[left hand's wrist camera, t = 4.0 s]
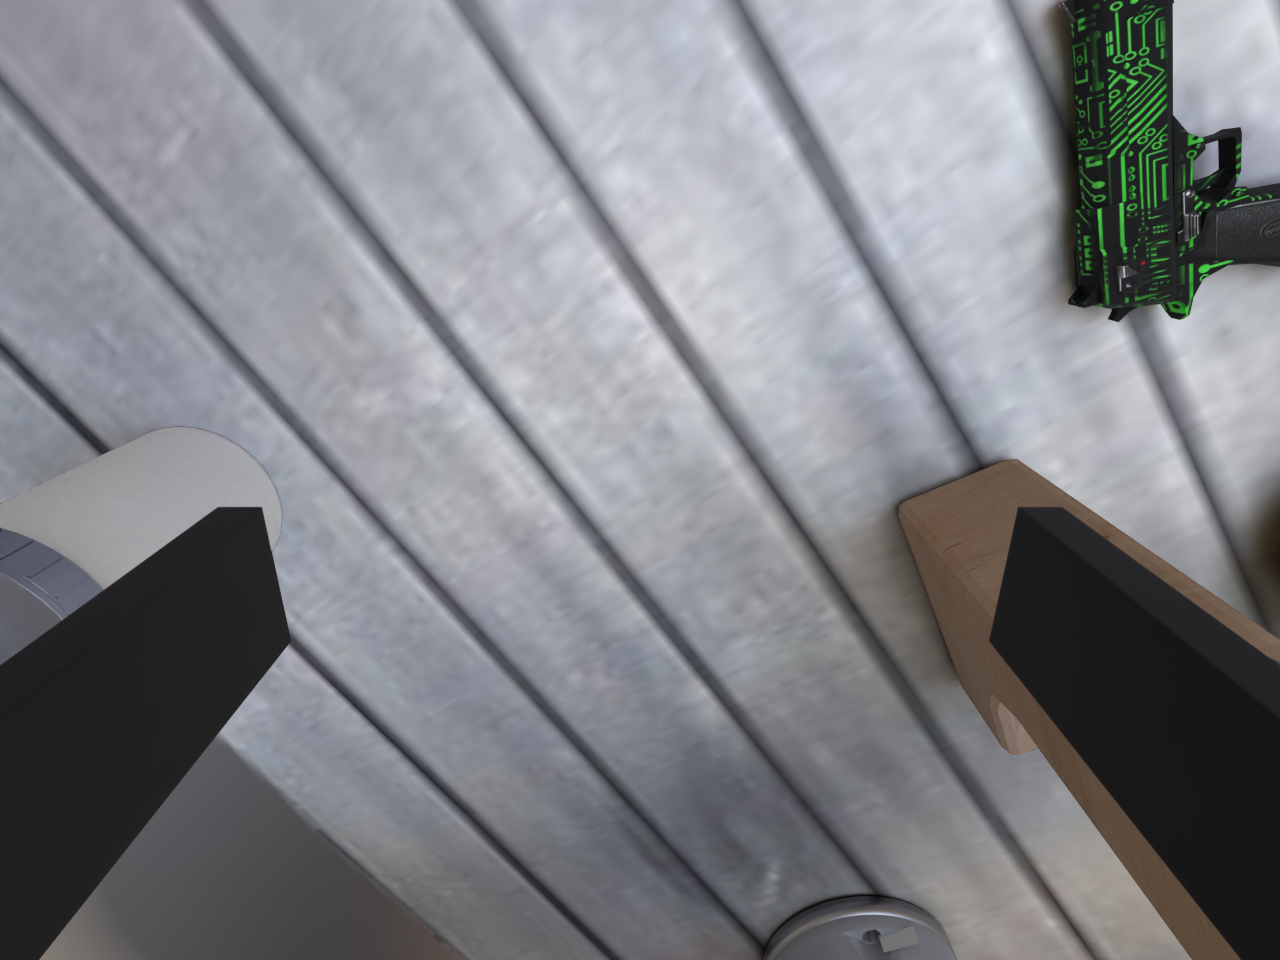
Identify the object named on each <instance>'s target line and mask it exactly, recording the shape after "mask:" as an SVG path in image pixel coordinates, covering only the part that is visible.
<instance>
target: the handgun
mask: <svg viewBox="0 0 1280 960" xmlns="http://www.w3.org/2000/svg"><path fill="white" fill-rule="evenodd" d="M1173 3H1174V0H1068V1H1066V2H1064V3H1062V4H1060V5H1059V7H1060V8H1061V9H1062V11H1063V12H1064V13H1065V15H1066V16H1067V18H1068V19H1069V20H1070V30H1071V43H1072V54H1073V73H1074V92H1075V112H1076V131H1077V149H1078V164H1079V179H1080V194H1081V207H1078V208H1075V209H1073V211H1074V224H1075V237H1076V248H1075V250H1074V259H1075V273H1076V288H1077V289H1076V290H1075V292H1074V293H1073V294H1072V296H1071V297H1070V298H1069V300H1068V304H1070V305H1075V306H1076V305H1077V306H1078V307H1083V308H1085V307H1089V306H1092V305H1095V306H1100V307H1104V308H1109V309H1111V308H1112V312H1111V314H1110V316H1109V318H1108V319H1109V320H1113V321H1117V322H1119V321H1120V320H1121V319H1122V318H1123V317H1124V316H1125V315H1126V314H1127V313H1128V312H1130V311H1131V310H1133V309H1135V308H1136V307H1138V306H1145V305H1155V304H1161V305H1162V307H1163V308H1164V310H1165V311H1166V312H1167V313H1168V315H1169V316H1170V317H1171V318H1175V319H1179V320H1180V319H1184V318H1185V317H1187V316H1188V315H1190V310H1191V306H1192V301H1193V297H1194V295H1195V293H1196V291H1197V290H1198V288H1199V286H1200V284H1201V282H1202V280H1203V279H1204V278H1206V277H1207V276H1209V275H1211V274H1213V273H1215V272H1216V271H1218V270H1220V269H1222V268H1224V267H1226V266H1227V265H1237V264H1262V265H1270V266H1278V267H1280V183H1279V184H1273V185H1268V186H1262V187H1257V188H1250V189H1247V187H1234V186H1235V184H1236V181H1237V179H1238V177H1239V174H1240V172H1241V144H1242V132H1241V128H1240V127H1238V128H1230V129H1223V130H1220V131H1219V132H1217V133H1215V134H1212V135H1209V136H1206V137H1202V138H1200V137H1197V136H1195V135H1192V134H1189V133H1188V132H1187V131H1186V130H1185V129H1184V128H1183V126H1182V125H1181V124H1180V123H1179V122H1178V120H1177V119H1176V118H1175V117H1174V116H1173ZM1217 140H1218V151H1219V170H1217V171H1216V172H1214V173H1213V174H1212V175H1210V176H1207V177H1204V178H1201V179H1199V180H1196V181H1193V161H1194V160H1195V159H1196V158H1197V157H1198V156H1199V155H1200V154H1201V153H1202V152H1203V151H1204V150H1205V144H1207V143H1210V142H1213V141H1217ZM1210 185H1211V186H1210ZM1208 186H1210V188H1206V187H1208ZM1204 188H1206V189H1204ZM1196 191H1197V192H1196ZM1195 192H1196V193H1195Z"/></svg>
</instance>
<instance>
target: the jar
mask: <svg viewBox="0 0 1280 960" xmlns="http://www.w3.org/2000/svg"><path fill="white" fill-rule="evenodd" d="M217 507H262V509H263V514H264V518H265V523H266V528H267V532H268V537H269V542H270V546H271V551H272V550H273V549H274V547H275V545H276V543H277V541H278V538H279V535H280V531H281V526H282V512H281V505H280V501H279V497H278V494H277V492H276V489H275V487H274V485H273V483H272V481H271V479H270V478H269V476H268V475H267V473H266V472H265V471H264V469H263V468H262V467H261V466H260V464H259V463H258V462H257V461H256V460H255V459H254V458H253V457H252V456H251V455H250V454H248V453H247V452H246V451H245V450H243V449H242V448H241V447H239V446H238V445H237V444H235V443H233V442H231V441H230V440H228V439H226V438H224V437H222V436H219V435H217V434H215V433H212V432H208V431H205V430H201V429H196V428H189V427H169V428H163V429H158V430H155V431H152V432H149V433H147V434H145V435H143V436H141V437H139V438H137V439H135V440H132V441H130V442H128V443H126V444H124V445H122V446H120V447H118V448H116V449H113V450H111V451H109V452H107V453H105V454H103V455H101V456H99V457H97V458H94V459H92V460H90V461H88V462H86V463H84V464H82V465H80V466H78V467H76V468H73V469H71V470H69V471H67V472H65V473H63V474H61V475H59V476H57V477H54V478H52V479H50V480H48V481H46V482H44V483H42V484H40V485H38V486H35V487H33V488H31V489H29V490H27V491H25V492H23V493H21V494H19V495H16V496H14V497H12V498H10V499H8V500H6V501H4V502H2V503H0V528H3V529H6V530H9V531H13V532H16V533H19V534H21V535H24V536H26V537H29V538H31V539H34V540H36V541H38V542H40V543H42V544H44V545H46V546H48V547H50V548H52V549H54V550H55V551H57V552H58V553H60V554H61V555H63V556H65V557H66V558H68V559H69V560H71V561H72V562H73V563H75V564H76V565H77V566H78V567H80V568H81V569H82V570H84V571H85V572H86V573H87V574H88V575H89V576H90V577H91V578H92V579H94V580H95V581H96V582H97V583H98V584H99V585H100V586H101V587H102V589H103V590H104V589H106V588H107V587H108V586H110V585H111V584H113V583H114V582H115V581H117V580H118V579H119V578H121V577H122V576H124V575H125V574H126V573H128V572H129V571H130V570H132V569H133V568H135V567H136V566H137V565H139V564H140V563H141V562H143V561H144V560H146V559H147V558H148V557H150V556H151V555H152V554H154V553H155V552H157V551H158V550H159V549H161V548H162V547H163V546H165V545H166V544H168V543H169V542H170V541H172V540H173V539H174V538H176V537H177V536H179V535H180V534H181V533H183V532H184V531H185V530H187V529H188V528H190V527H191V526H192V525H194V524H195V523H196V522H198V521H199V520H201V519H202V518H203V517H205V516H206V515H207V514H209V513H210V512H212V511H213V510H214V509H216V508H217Z"/></svg>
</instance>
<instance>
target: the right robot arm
mask: <svg viewBox="0 0 1280 960" xmlns="http://www.w3.org/2000/svg"><path fill="white" fill-rule="evenodd" d="M763 960H957V959H956V956H955V953H954V951H953V949H952V946H951V944H950V941H949V939H948V937H947V934H946V933H945V931H944V929H943V928H942V926H941V925H940V924H939V923H938V922H937V921H936V919H934V918H933V917H932V916H931V915H930V914H928V913H927V912H925V911H924V910H922V909H920V908H918V907H916V906H914V905H912V904H909V903H906V902H903V901H900V900H896V899H891V898H885V897H874V896H860V897H849V898H842V899H837V900H833V901H829V902H825V903H822V904H820V905H817V906H814V907H812V908H810V909H807V910H805V911H804V912H802V913H800V914H798V915H797V916H795V917H793V918H792V919H791V920H789V921H788V922H787V923H785V924H784V925H783V926H782V927H781V928H780V929H779V930H778V931H777V932H776V933H775V935H774V936H773V937H772V939H771V940H770V942H769V944H768V945H767V947H766V950H765V952H764V956H763Z"/></svg>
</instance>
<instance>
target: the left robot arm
mask: <svg viewBox="0 0 1280 960" xmlns="http://www.w3.org/2000/svg"><path fill="white" fill-rule="evenodd" d="M290 642H291V638H290V634H289V629H288V625H287V620H286V615H285V611H284V606H283V602H282V597H281V592H280V588H279V583H278V578H277V574H276V569H275V565H274V560H273V555H272V551H271V546H270V542H269V537H268V532H267V528H266V523H265V518H264V514H263V509H262V507H217V508H216V509H214V510H213V511H212V512H210V513H209V514H207V515H206V516H205V517H203V518H202V519H201V520H199V521H198V522H196V523H195V524H194V525H192V526H191V527H190V528H188V529H187V530H185V531H184V532H183V533H181V534H180V535H179V536H177V537H176V538H174V539H173V540H172V541H170V542H169V543H168V544H166V545H165V546H163V547H162V548H161V549H159V550H158V551H157V552H155V553H154V554H152V555H151V556H150V557H148V558H147V559H146V560H144V561H143V562H141V563H140V564H139V565H137V566H136V567H135V568H133V569H132V570H130V571H129V572H128V573H126V574H125V575H124V576H122V577H121V578H119V579H118V580H117V581H115V582H114V583H113V584H111V585H110V586H108V587H107V588H106V589H104V590H103V591H102V592H100V593H99V594H97V595H96V596H95V597H93V598H92V599H91V600H89V601H88V602H86V603H85V604H84V605H82V606H81V607H80V608H78V609H77V610H75V611H74V612H73V613H71V614H70V615H69V616H67V617H66V618H64V619H63V620H62V621H60V622H59V623H58V624H56V625H55V626H53V627H52V628H51V629H49V630H48V631H47V632H45V633H44V634H42V635H41V636H40V637H38V638H37V639H36V640H34V641H33V642H31V643H30V644H29V645H27V646H26V647H25V648H23V649H22V650H20V651H19V652H18V653H16V654H15V655H14V656H12V657H11V658H9V659H8V660H7V661H5V662H4V663H3V664H1V665H0V960H39V959H40V958H41V957H42V955H43V954H44V953H45V952H46V950H47V949H48V948H49V946H50V945H51V944H52V943H53V941H54V940H55V939H56V938H57V936H58V935H59V934H60V933H61V931H62V930H63V929H64V927H65V926H66V925H67V924H68V922H69V921H70V920H71V919H72V917H73V916H74V915H75V914H76V912H77V911H78V910H79V909H80V907H81V906H82V905H83V903H84V902H85V901H86V900H87V898H88V897H89V896H90V895H91V893H92V892H93V891H94V890H95V888H96V887H97V886H98V885H99V883H100V882H101V881H102V879H103V878H104V877H105V876H106V874H107V873H108V872H109V871H110V869H111V868H112V867H113V866H114V864H115V863H116V862H117V860H118V859H119V858H120V857H121V855H122V854H123V853H124V852H125V850H126V849H127V848H128V847H129V845H130V844H131V843H132V841H133V840H134V839H135V838H136V837H137V835H138V834H139V833H140V831H141V830H142V829H143V828H144V826H145V825H146V824H147V823H148V821H149V820H150V819H151V817H152V816H153V815H154V814H155V812H156V811H157V810H158V809H159V807H160V806H161V805H162V804H163V802H164V801H165V800H166V799H167V797H168V796H169V795H170V793H171V792H172V791H173V790H174V788H175V787H176V786H177V785H178V783H179V782H180V781H181V780H182V778H183V777H184V776H185V775H186V773H187V772H188V771H189V769H190V768H191V767H192V766H193V764H194V763H195V762H196V761H197V759H198V758H199V757H200V756H201V754H202V753H203V752H204V750H205V749H206V748H207V747H208V745H209V744H210V743H211V742H212V740H213V739H214V738H215V737H216V735H217V734H218V733H219V732H220V730H221V729H222V728H223V727H224V725H225V724H226V723H227V721H228V720H229V719H230V718H231V716H232V715H233V714H234V713H235V711H236V710H237V709H238V708H239V706H240V705H241V704H242V702H243V701H244V700H245V699H246V697H247V696H248V695H249V694H250V692H251V691H252V690H253V689H254V687H255V686H256V685H257V684H258V682H259V681H260V680H261V678H262V677H263V676H264V675H265V673H266V672H267V671H268V670H269V668H270V667H271V666H272V665H273V663H274V662H275V661H276V660H277V658H278V657H279V656H280V654H281V653H282V652H283V651H284V649H285V648H286V647H287V646H288V644H289V643H290ZM989 642H990V643H991V644H992V646H993V647H994V648H995V649H996V651H997V652H998V653H999V654H1000V656H1001V657H1002V658H1003V660H1004V661H1005V662H1006V663H1007V665H1008V666H1009V667H1010V668H1011V670H1012V671H1013V672H1014V673H1015V675H1016V676H1017V677H1018V678H1019V680H1020V681H1021V682H1022V684H1023V685H1024V686H1025V687H1026V689H1027V690H1028V691H1029V692H1030V694H1031V695H1032V696H1033V697H1034V699H1035V700H1036V701H1037V702H1038V704H1039V705H1040V706H1041V708H1042V709H1043V710H1044V711H1045V713H1046V714H1047V715H1048V716H1049V718H1050V719H1051V720H1052V721H1053V723H1054V724H1055V725H1056V727H1057V728H1058V729H1059V730H1060V732H1061V733H1062V734H1063V735H1064V737H1065V738H1066V739H1067V740H1068V742H1069V743H1070V744H1071V745H1072V747H1073V748H1074V749H1075V751H1076V752H1077V753H1078V754H1079V756H1080V757H1081V758H1082V759H1083V761H1084V762H1085V763H1086V764H1087V766H1088V767H1089V768H1090V769H1091V771H1092V772H1093V773H1094V775H1095V776H1096V777H1097V778H1098V780H1099V781H1100V782H1101V783H1102V785H1103V786H1104V787H1105V788H1106V790H1107V791H1108V792H1109V794H1110V795H1111V796H1112V797H1113V799H1114V800H1115V801H1116V802H1117V804H1118V805H1119V806H1120V807H1121V809H1122V810H1123V811H1124V812H1125V814H1126V815H1127V816H1128V818H1129V819H1130V820H1131V821H1132V823H1133V824H1134V825H1135V826H1136V828H1137V829H1138V830H1139V831H1140V833H1141V834H1142V835H1143V837H1144V838H1145V839H1146V840H1147V842H1148V843H1149V844H1150V845H1151V847H1152V848H1153V849H1154V850H1155V852H1156V853H1157V854H1158V855H1159V857H1160V858H1161V859H1162V861H1163V862H1164V863H1165V864H1166V866H1167V867H1168V868H1169V869H1170V871H1171V872H1172V873H1173V874H1174V876H1175V877H1176V878H1177V879H1178V881H1179V882H1180V883H1181V885H1182V886H1183V887H1184V888H1185V890H1186V891H1187V892H1188V893H1189V895H1190V896H1191V897H1192V898H1193V900H1194V901H1195V902H1196V904H1197V905H1198V906H1199V907H1200V909H1201V910H1202V911H1203V912H1204V914H1205V915H1206V916H1207V917H1208V919H1209V920H1210V921H1211V922H1212V924H1213V925H1214V926H1215V928H1216V929H1217V930H1218V931H1219V933H1220V934H1221V935H1222V936H1223V938H1224V939H1225V940H1226V941H1227V943H1228V944H1229V945H1230V946H1231V948H1232V949H1233V950H1234V952H1235V953H1236V954H1237V955H1238V957H1239V958H1240V959H1241V960H1280V662H1279V661H1277V660H1275V659H1273V658H1269V657H1268V656H1266V655H1265V654H1264V653H1262V652H1261V651H1260V650H1258V649H1257V648H1255V647H1254V646H1253V645H1251V644H1250V643H1249V642H1247V641H1246V640H1244V639H1243V638H1242V637H1240V636H1239V635H1238V634H1236V633H1235V632H1233V631H1232V630H1231V629H1229V628H1228V627H1227V626H1225V625H1224V624H1222V623H1221V622H1220V621H1218V620H1217V619H1216V618H1214V617H1213V616H1211V615H1210V614H1209V613H1207V612H1206V611H1205V610H1203V609H1202V608H1200V607H1199V606H1198V605H1196V604H1195V603H1194V602H1192V601H1191V600H1189V599H1188V598H1187V597H1185V596H1184V595H1183V594H1181V593H1180V592H1178V591H1177V590H1176V589H1174V588H1173V587H1172V586H1170V585H1169V584H1167V583H1166V582H1165V581H1163V580H1162V579H1161V578H1159V577H1158V576H1156V575H1155V574H1154V573H1152V572H1151V571H1150V570H1148V569H1147V568H1145V567H1144V566H1143V565H1141V564H1140V563H1139V562H1137V561H1136V560H1134V559H1133V558H1132V557H1130V556H1129V555H1128V554H1126V553H1125V552H1123V551H1122V550H1121V549H1119V548H1118V547H1117V546H1115V545H1114V544H1112V543H1111V542H1110V541H1108V540H1107V539H1106V538H1104V537H1103V536H1101V535H1100V534H1099V533H1097V532H1096V531H1095V530H1093V529H1092V528H1090V527H1089V526H1088V525H1086V524H1085V523H1084V522H1082V521H1081V520H1079V519H1078V518H1077V517H1075V516H1074V515H1073V514H1071V513H1070V512H1068V511H1067V510H1066V509H1064V508H1063V507H1018V509H1017V514H1016V518H1015V523H1014V528H1013V532H1012V537H1011V542H1010V546H1009V551H1008V555H1007V560H1006V565H1005V569H1004V574H1003V578H1002V583H1001V588H1000V592H999V597H998V601H997V606H996V611H995V615H994V620H993V625H992V629H991V634H990V638H989Z"/></svg>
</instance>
